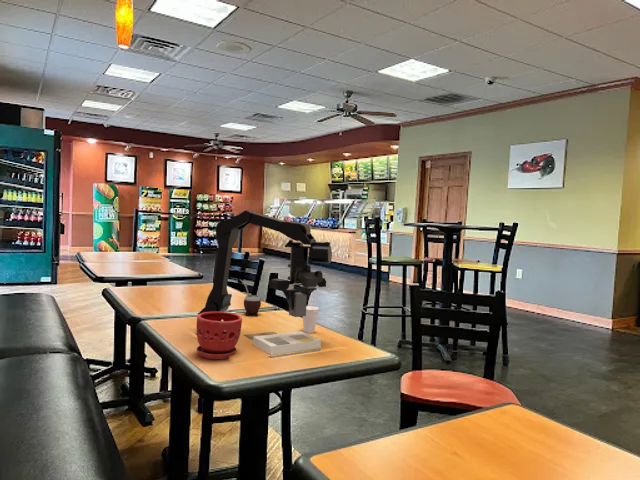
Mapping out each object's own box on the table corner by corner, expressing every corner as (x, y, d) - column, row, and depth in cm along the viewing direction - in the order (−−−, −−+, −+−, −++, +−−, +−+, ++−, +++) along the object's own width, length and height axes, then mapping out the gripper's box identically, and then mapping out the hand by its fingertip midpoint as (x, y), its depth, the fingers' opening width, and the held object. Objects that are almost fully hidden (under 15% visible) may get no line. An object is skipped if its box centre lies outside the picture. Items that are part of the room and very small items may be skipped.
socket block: (270, 358, 141) (271, 345, 141) (252, 347, 151) (253, 335, 151) (320, 351, 151) (321, 339, 151) (300, 341, 161) (301, 330, 161)
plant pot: (201, 364, 132) (203, 321, 132) (190, 350, 144) (192, 311, 143) (246, 359, 138) (248, 319, 138) (232, 347, 150) (234, 309, 149)
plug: (295, 317, 151) (296, 294, 151) (288, 314, 155) (289, 292, 154) (305, 315, 154) (306, 293, 153) (299, 313, 157) (300, 291, 156)
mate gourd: (263, 315, 198) (265, 279, 197) (251, 318, 191) (253, 281, 191) (249, 312, 202) (251, 277, 201) (237, 315, 195) (239, 279, 195)
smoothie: (315, 337, 168) (317, 298, 167) (298, 335, 169) (300, 296, 168) (319, 333, 174) (321, 295, 173) (302, 331, 175) (304, 293, 174)
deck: (254, 344, 154) (254, 341, 154) (242, 337, 161) (242, 334, 161) (286, 340, 161) (286, 337, 161) (273, 334, 168) (273, 331, 168)
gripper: (287, 265, 141) (285, 316, 142) (337, 263, 152) (335, 311, 153) (269, 261, 150) (267, 310, 151) (317, 260, 161) (315, 305, 162)
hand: (297, 309), depth 154 cm, fingers closed on plug, 4 cm apart
